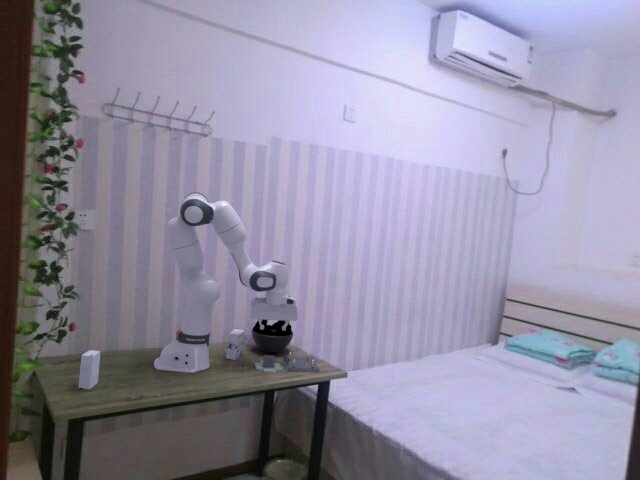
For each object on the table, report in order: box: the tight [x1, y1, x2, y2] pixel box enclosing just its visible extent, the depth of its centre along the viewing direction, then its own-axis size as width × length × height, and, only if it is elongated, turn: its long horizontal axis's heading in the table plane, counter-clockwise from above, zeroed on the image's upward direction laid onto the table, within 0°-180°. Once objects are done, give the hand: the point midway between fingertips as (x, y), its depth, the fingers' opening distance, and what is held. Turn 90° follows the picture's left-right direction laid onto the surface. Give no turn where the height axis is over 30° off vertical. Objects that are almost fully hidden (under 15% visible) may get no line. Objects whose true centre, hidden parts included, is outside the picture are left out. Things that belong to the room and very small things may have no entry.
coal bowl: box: [251, 320, 294, 353], centre depth 235 cm, size 20×20×19 cm
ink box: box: [225, 328, 246, 361], centre depth 221 cm, size 9×5×12 cm, turn 168°
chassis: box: [282, 351, 321, 373], centre depth 219 cm, size 14×15×5 cm
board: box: [254, 354, 283, 373], centre depth 213 cm, size 11×13×5 cm
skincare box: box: [78, 349, 101, 390], centre depth 172 cm, size 6×4×12 cm
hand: (272, 329), depth 212 cm, fingers open, 8 cm apart
